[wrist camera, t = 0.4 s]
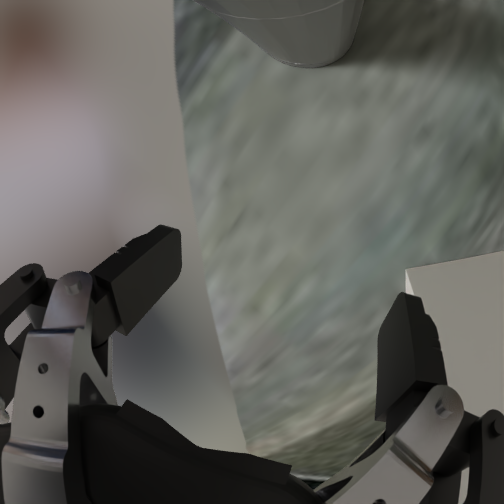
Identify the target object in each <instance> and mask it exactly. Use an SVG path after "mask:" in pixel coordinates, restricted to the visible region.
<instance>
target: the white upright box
mask: <svg viewBox="0 0 504 504" xmlns="http://www.w3.org/2000/svg"><path fill="white" fill-rule="evenodd" d="M406 293H407V294H411V295H414V296H418V297H421V299H422V302H423V306H424V310H425V314H428V315H430V317H431V318H432V320H433V322H434V323H435V325H436V327H437V331H438V335H439V341H440V344H441V351H442V354H443V359H444V365H445V370H446V377H447V383H448V386H449V387H451V388H453V389H454V390H455V391H456V392H457V393H458V394H459V395H460V397H461V399H462V402H463V405H464V410H465V411H467V412H469V413H471V414H473V415H476V416H478V417H481V416H482V415H484V414H485V413H486V412H487V411H489V410H491V409H496V410H498V411H500V412H501V413H502V414H503V415H504V250H503V251H499V252H494V253H489V254H484V255H479V256H474V257H469V258H464V259H459V260H453V261H448V262H443V263H437V264H431V265H426V266H420V267H414V268H408V269H406ZM468 479H469V467H468V468H466V469H465V470H463V471H462V474H461V485H460V493H459V501H458V504H463V503H464V501H465V499H466V496H467V490H468Z"/></svg>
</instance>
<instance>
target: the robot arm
mask: <svg viewBox="0 0 504 504" xmlns="http://www.w3.org/2000/svg"><path fill="white" fill-rule="evenodd" d="M193 1H195V2H197V3H198V4H200V5H202V6H204V7H205V8H207V9H208V10H210V11H211V12H213V13H215V14H216V15H218V16H219V17H220V18H222V19H223V20H225V21H226V22H228V23H229V24H230V25H232V26H233V27H235V28H236V29H237V30H239V31H240V32H241V33H243V34H244V35H245V36H247V37H248V38H249V39H251V40H252V41H253V42H254V43H256V44H257V45H258V46H259V47H261V48H262V49H263V50H264V51H266V52H267V53H268V54H269V55H271V56H272V57H273V58H274V59H276V60H278V61H280V62H282V63H284V64H287V65H290V66H293V67H300V68H316V67H322V66H326V65H328V64H331V63H333V62H335V61H337V60H338V59H340V58H341V57H342V56H343V55H344V54H345V53H346V52H347V51H348V50H349V48H350V47H351V45H352V43H353V40H354V36H355V33H356V30H357V27H358V23H359V19H360V15H361V12H362V8H363V4H364V0H193ZM181 268H182V255H181V233H180V231H179V230H178V229H175V228H171V227H168V226H164V225H158V226H157V227H155V228H154V229H153V230H151V231H150V232H149V233H147V234H144V235H141V236H139V237H136V238H134V239H132V240H131V241H129V242H128V243H127V244H125V245H124V247H121V248H120V249H119V250H117V252H116V253H114V254H113V255H111V256H110V257H108V258H107V259H106V260H105V261H103V262H102V263H101V264H99V265H98V266H97V267H96V268H94V269H93V270H92V271H91V272H89V273H87V272H83V271H73V272H70V273H67V274H65V275H63V276H62V277H60V278H59V279H58V280H55V279H50V278H46V276H45V273H44V270H43V267H42V266H41V265H39V264H35V263H33V264H28V265H25V266H23V267H22V268H20V269H19V270H17V271H16V272H15V273H14V274H13V275H11V276H10V277H9V278H8V279H7V280H6V281H4V283H2V284H1V285H0V423H1V424H0V504H458V501H459V493H460V485H461V474H462V471H463V470H465V469H466V468H468V467H469V479H468V490H467V496H466V499H465V501H464V503H463V504H504V415H503V414H502V413H501V412H500V411H498V410H496V409H491V410H489V411H487V412H486V413H485V414H484V415H482V416H481V417H478V416H476V415H473V414H471V413H469V412H467V411H465V410H464V405H463V402H462V399H461V397H460V395H459V394H458V393H457V392H456V391H455V390H454V389H453V388H451V387H449V386H448V383H447V377H446V370H445V365H444V359H443V354H442V351H441V344H440V341H439V335H438V331H437V327H436V325H435V323H434V322H433V320H432V318H431V317H430V315H428V314H425V310H424V306H423V302H422V299H421V297H418V296H414V295H411V294H407V293H404V292H401V293H399V295H398V296H397V298H396V300H395V302H394V303H393V305H392V307H391V309H390V311H389V313H388V314H387V316H386V318H385V320H384V321H383V323H382V325H381V328H380V330H379V334H378V366H377V394H376V409H375V420H376V421H383V422H386V429H385V430H384V431H382V432H381V433H380V434H379V435H378V436H377V437H376V439H375V440H374V441H373V442H372V443H371V444H370V445H369V446H368V447H367V448H366V449H364V450H363V451H362V452H361V453H360V454H359V455H358V456H357V457H356V458H355V459H354V460H353V461H352V462H350V463H349V464H348V465H347V466H346V467H345V468H344V469H342V470H341V471H340V472H338V473H337V474H335V475H334V476H332V477H331V478H329V479H328V480H327V481H325V482H324V483H322V484H321V485H320V486H318V487H317V488H316V489H314V490H312V489H311V488H310V487H309V486H308V485H307V484H305V483H304V482H303V481H301V480H300V479H298V478H297V477H295V476H293V475H291V474H289V473H290V470H291V467H292V465H288V464H283V463H279V462H275V461H272V460H268V459H264V458H261V457H257V456H254V455H251V454H246V453H236V452H228V451H220V450H213V449H206V448H201V447H199V446H196V445H195V444H193V443H192V442H191V441H189V440H188V439H187V438H185V437H184V436H183V435H182V434H180V433H179V432H178V431H177V430H175V429H174V428H173V427H171V426H170V425H169V424H168V423H167V422H166V421H164V420H163V419H162V418H160V417H158V416H156V415H154V414H152V413H151V412H149V411H147V410H145V409H143V408H141V407H139V406H138V405H136V404H134V403H133V402H131V401H129V400H126V401H125V403H124V404H123V405H122V407H121V406H118V404H117V399H116V395H115V392H114V389H113V383H112V336H111V334H112V333H113V332H114V331H115V330H116V331H118V332H120V333H122V334H123V335H125V336H127V335H128V334H129V332H130V331H131V330H132V329H133V328H134V327H135V326H136V324H137V323H138V322H139V321H140V320H141V319H142V318H143V317H144V315H145V314H146V313H147V312H148V311H149V310H150V309H151V307H152V306H153V305H154V304H155V303H156V302H157V301H158V300H159V299H160V297H161V296H162V295H163V294H164V293H165V292H166V291H167V290H168V289H169V287H170V286H171V285H172V284H173V283H174V282H175V281H176V280H177V278H178V277H179V275H180V272H181ZM24 310H25V312H26V314H27V316H28V317H29V319H30V321H31V323H30V324H29V325H28V326H27V327H26V328H25V329H24V330H23V331H22V332H21V334H20V335H19V336H18V337H17V338H16V339H15V340H14V341H13V342H12V343H11V344H10V345H8V344H7V343H6V341H5V338H4V333H5V330H6V328H7V327H8V326H9V325H10V324H11V323H12V322H13V321H14V320H15V319H16V318H17V317H18V316H19V315H20V314H21V313H22V312H23V311H24ZM13 398H14V402H13V411H12V422H11V423H8V422H9V414H8V412H6V410H5V409H6V407H7V406H8V404H9V403H10V402H11V400H12V399H13Z"/></svg>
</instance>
